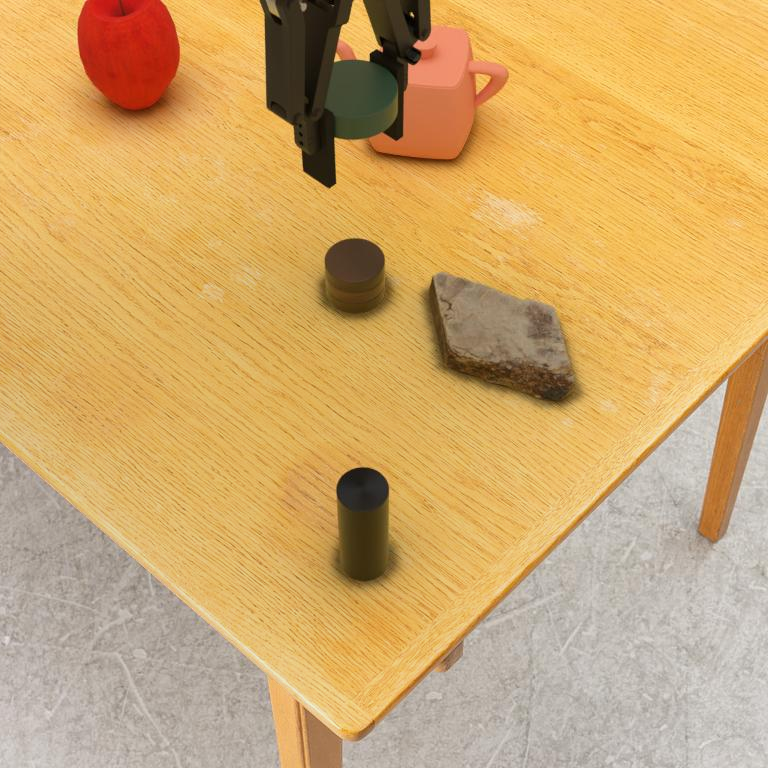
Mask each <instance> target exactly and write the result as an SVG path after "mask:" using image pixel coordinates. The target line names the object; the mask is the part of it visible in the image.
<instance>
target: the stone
mask: <svg viewBox="0 0 768 768" xmlns="http://www.w3.org/2000/svg"><path fill="white" fill-rule="evenodd" d="M428 301H429V304H430V305H429V306H430V309H431V313H432V318H433V323H434V327H435V331H436V335H437V339H438V344H439V349H440V353H441V358H442V362H443V365H444V367H446V368H449V369H453V370H454V371H455V370H456V371H460V372H461V373H464V374H468V375H472V376H475V377H477V378H479V379H481V380H482V381H485V382H486V383H491V384H497V385H502V386H504V387H508V388H509V389H512V390H515V391H518V392H520V393H522V394H526V395H529V396H531V397H534V398H537V399H541V400H549V401H550V400H551V401H552V400H553V401H557V402H560V401H563V400H564V399H566V398H567V397H568V396H569V395H571V394H573V392H574V390H575V383H576V378H575V374H574V370H573V367H572V363H571V359H570V356H569V353H568V350H567V347H566V342H565V339H564V336H563V331H562V327H561V325H560V324H561V323H560V321H559V317H558V314H557V311H556V308H555V306H553V305H550V304H547V303H544V302H542V301H539V300H536V299H532V298H529V297H528V298H526V299H521V298H520V297H516V296H514V295H512V294H509V293H506V292H504V291H502V290H499V289H496V288H493V287H491V286H489V285H487V284H482V283H481V282H478V281H477V282H475V281H473V280H470V279H467V278H463V277H460V276H455V275H452V274H450V273H447V272H444V271H439V272H436V273H434V274H433V275H432V276H431V281H430V285H429V288H428Z"/></svg>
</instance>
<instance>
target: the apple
mask: <svg viewBox="0 0 768 768" xmlns="http://www.w3.org/2000/svg"><path fill="white" fill-rule="evenodd" d="M76 33H77V34H76V35H77V47H78V53H79V59H80V62H81V64H82V66H83V69H84V72H85V75H86V77H88V79H89V81H90V82H91V84H92V85H93V86H94V87H95V88H96V89H97V90H98V91H99V92H100V93H101V94H103V95H104V96H105V97H106V98H108V100H110V101H111V102H113V103H114V104H116V105H117V106H119V107H121V108H123V109H125V110H129V111H130V110H131V111H133V110H134V111H140V110H143V109H146V108H150V107H151V106H152V105H154V104H155V103H156V102H157V103H158V101H159V100H160V99H161V97H162V96H163V95H164V93H165V92H166V90H167V89H168V87H169V86H170V84H171V83H172V82H173V80H174V78H175V77H176V75H177V71H178V70H179V65H180V60H181V45H180V41H179V36H178V32H177V27H176V24H175V22H174V20H173V17H172V15H171V13H170V11H169V9H168V7H167V5H165V3H164V2H163V1H162V0H85V1H84V4H83V5H82V8H81V11H80V13H79V16H78V18H77V29H76Z"/></svg>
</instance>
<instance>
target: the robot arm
mask: <svg viewBox="0 0 768 768" xmlns="http://www.w3.org/2000/svg"><path fill="white" fill-rule="evenodd" d="M258 1H259V4H260V6H261V9H262V12H263V15H264V17H263V18H264V57H265V58H264V60H265V61H264V63H265V64H264V65H265V105H266V109H267V110H268V111H269V112H271V113H272V114H274V115H276V116H277V117H278V118H279V119H281V120H283V121H284V122H286V123H287V124H289V125H291V126H292V127H293V139H294V144H295V145H296V147H297V148H298V149H300V151H301V161H302V162H301V164H302V171H303V173H305V174H306V175H308V176H309V177H311V178H312V179H314V180H315V181H317V182H318V183H320V184H321V185H323V186H324V187H325V188H327V189H328V190H330V189H331V188H332V187H334V186H335V185H337V168H336V167H337V165H336V145H335V143H336V142H335V137H334V119H333V112H331V111H330V110H328V109H327V108H325V103H326V98H327V93H328V88H329V83H330V79H331V74H332V69H333V64H334V62H335V59H336V55H337V53H336V50H337V45H338V40H339V39H340V35H341V30H342V27H343V26H344V25H347V24H348V23H349V21H350V17H351V13H352V9H353V8H352V7H353V3H354V1H355V0H258ZM362 2H363V5H364V8H365V11H366V14H367V17H368V20H369V23H370V26H371V29H372V31H373V35H374V37H375V40H376V42H377V46H378V47H379V48H380V47H382V48H383V52H381V51H379V50H380V49H378V48H376V49H374V50H373V51H371V52H370V53H369V57H368V58H369V61H370V62H373V63H376V64H378V65H381V66H382V67H384V68H386V69H387V70H388V71H389V72H390V73H392V75H393V76H394V78H395V79H396V81H397V85H398V112H397V116H396V119H395V121H394V122H393V123H392V125H391V126H390V127H389V128H388V129H386V130H385V131H383V133H384V134H386V135H387V136H389V137H390V138H392V139H394V140H395V141H397V140H399V139H400V138H402V137H403V117H404V91H406V89H407V85H408V63H409V64H411V65H416V64H417V63H418V62H419V60H420V58H421V55H422V52H421V51H420V50H418V49H416V48H415V47H414V46H413V45H414V44H415V43H416V42H417V41H418V40H420V41H422V42H424V41H426V40H427V39H428V37H429V36H430V33H431V25H432V20H431V19H432V15H431V14H432V13H431V0H362Z"/></svg>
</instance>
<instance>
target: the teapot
mask: <svg viewBox="0 0 768 768" xmlns="http://www.w3.org/2000/svg"><path fill="white" fill-rule="evenodd" d="M413 46H414V47H415V48H416V49H418V50H420V51H421V52H422V55H421V58H420V60H419V62H418V63H417V64H416V65H411V64H409V63H408V85H407V89H406V91H404V117H403V137H402V138H400V139H399V140H397V141H395V140H394V139H392V138H390V137H389V136H387V135H386V134H384V133H383V132H382V133H380V134H378V135H376V136H373V137H370V138H368V140H369V143H370V145H371V146H372V148H373V149H374V151H376V152H379V153H384V154H388V155H396V156H402V157H413V158H422V159H435V160H454V159H456V158H457V157H458V156H459V155H460V153H461V152H462V150H463V148H464V146H465V144H466V142H467V140H468V138H469V135H470V132H471V130H472V127H473V124H474V120H475V116H476V109H477V108H479V107H480V106H482V105H483V104H485V103H486V102H488V101H489V100H491V99H492V98H493V97H495V96H496V95H497V94H498V93H499V92H500V91H501V90H502V89H503V88H504V87H505V86H506V84H507V82H508V80H509V77H510V72H509V69H508V68H507V67H506V66H504V65H503V64H500V63H497V62H492V61H486V60H485V61H484V60H475V59H474V54H473V49H472V43H471V38H470V35H469V32H468V31H467V30H466V29H464V28H459V27H452V26H445V25H436V24H431V33H430V36H429V37H428V39H427V40H426V41H424V42H422V41H420V40H418V41H417V42H416V43H415V44H414V45H413ZM378 50H379V51H381V52H383V48H382V47H380V46H379V49H378ZM336 55H337V56H338V58H339V61H341V60H351V59H356V60H358V58H357V57H356V54H355V52H354V50H353V48H352V47H351V46H350V45H349V44H348V43H347V42H345V41H344V40H342V39H340V38H339V40H338V45H337V50H336ZM477 74H478V75H485V76H488V77H490V79H489V80H488V82H487V84H486V85H485V86H484V87H483V88H482V89H481V90H480V91H479V92H478V93H477V78H476V77H477V76H476V75H477Z"/></svg>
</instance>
